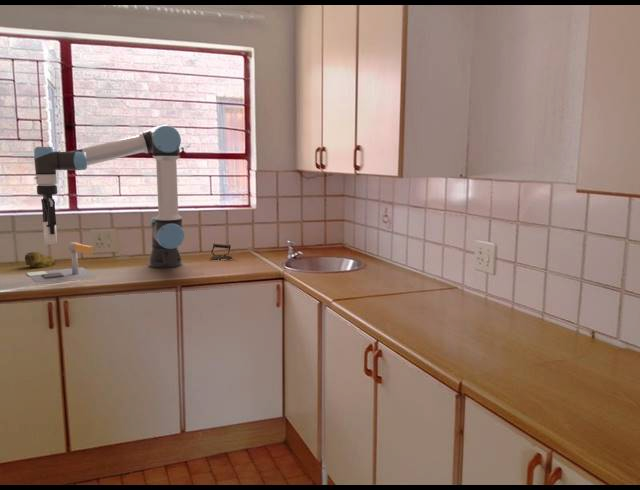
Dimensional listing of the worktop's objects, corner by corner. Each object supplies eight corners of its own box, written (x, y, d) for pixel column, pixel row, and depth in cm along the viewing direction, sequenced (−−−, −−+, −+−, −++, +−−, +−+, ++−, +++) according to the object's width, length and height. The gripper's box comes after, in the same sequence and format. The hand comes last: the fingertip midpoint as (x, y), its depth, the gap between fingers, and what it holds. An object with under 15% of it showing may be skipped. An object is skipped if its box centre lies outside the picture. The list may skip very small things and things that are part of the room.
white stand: (82, 269, 253) (81, 245, 252) (95, 278, 237) (94, 252, 235) (26, 275, 240) (24, 250, 238) (36, 285, 223) (34, 258, 221)
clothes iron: (211, 258, 286) (216, 240, 285) (232, 264, 285) (237, 245, 285) (208, 260, 279) (212, 240, 278) (229, 266, 278) (234, 246, 278)
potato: (58, 268, 255) (57, 251, 253) (27, 271, 247) (26, 254, 245) (53, 265, 261) (52, 248, 260) (23, 268, 253) (22, 251, 252)
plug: (55, 242, 236) (54, 221, 234) (58, 243, 232) (57, 222, 230) (43, 243, 233) (41, 222, 231) (46, 245, 229) (44, 223, 227)
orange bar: (67, 249, 238) (66, 242, 237) (76, 248, 241) (75, 241, 240) (86, 254, 228) (86, 247, 227) (95, 253, 231) (95, 246, 230)
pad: (44, 271, 242) (44, 270, 242) (48, 274, 237) (47, 273, 237) (26, 273, 238) (26, 272, 238) (29, 276, 233) (29, 275, 233)
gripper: (32, 184, 233) (36, 239, 237) (41, 186, 219) (45, 245, 223) (51, 183, 237) (55, 237, 241) (61, 185, 223) (65, 243, 227)
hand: (50, 241), depth 232 cm, fingers closed on plug, 5 cm apart
